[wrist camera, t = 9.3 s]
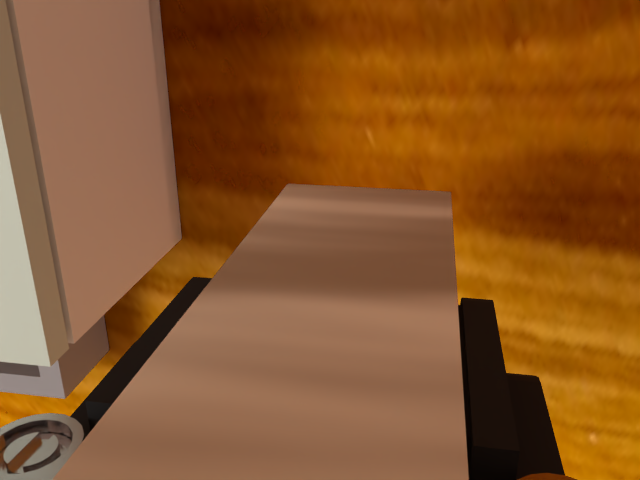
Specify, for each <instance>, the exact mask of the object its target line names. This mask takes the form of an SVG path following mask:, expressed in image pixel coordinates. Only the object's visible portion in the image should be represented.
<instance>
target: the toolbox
mask: <svg viewBox="0 0 640 480" xmlns="http://www.w3.org/2000/svg"><path fill="white" fill-rule="evenodd" d="M5 1H6V7H7V12H8V18H9V23H10V29H11V34H12V39H13V45H14V50H15V56H16V61H17V67H18V72H19V78H20V83H21V89H22V94H23V100H24V105H25V111H26V116H27V121H28V127H29V132H30V138H31V143H32V149H33V154H34V160H35V165H36V171H37V176H38V182H39V187H40V192H41V198H42V203H43V209H44V214H45V220H46V225H47V231H48V236H49V242H50V247H51V253H52V258H53V264H54V269H55V274H56V280H57V285H58V291H59V296H60V302H61V307H62V313H63V318H64V324H65V329H66V335H67V340H68V345H69V349H68V350H67V351H66V352H65V353H64V354H63V355H62V356H61V357H60V358H59V359H58V360H57V361H56V362H55V363H54V364H53V365H52V366H51V367H48V366H38V365H28V364H19V363H9V362H0V391H1V392H10V393H19V394H28V395H37V396H46V397H55V398H64V399H65V398H66V397H67V396H68V395H69V394H70V393H71V392H72V391H73V390H74V389H75V387H76V386H77V385H78V384H79V383H80V382H81V381H82V380H83V379H84V377H85V376H86V375H87V374H88V373H89V372H90V371H91V370H92V369H93V368H94V366H95V365H96V364H97V363H98V362H99V361H100V360H101V359H102V358H103V357H104V355H105V354H106V353H107V352H108V351H109V344H108V338H107V331H106V325H105V318H104V314H105V313H106V312H107V311H108V310H109V309H110V308H111V307H112V306H113V305H114V304H115V303H116V302H117V301H118V300H119V299H120V298H121V297H123V296H124V295H125V294H126V293H127V292H128V291H129V290H130V289H131V288H132V287H133V286H134V285H135V284H136V283H137V282H138V281H139V280H140V279H141V278H142V277H143V276H144V275H145V274H146V273H147V272H148V271H149V270H150V269H151V268H152V267H153V266H154V265H155V264H156V263H157V262H158V261H159V260H160V259H161V258H162V257H163V256H164V255H165V254H166V253H167V252H169V251H170V250H171V249H172V248H173V247H174V246H175V245H176V244H177V243H178V242H179V241H180V240H181V239H182V234H181V223H180V213H179V202H178V192H177V181H176V170H175V160H174V149H173V139H172V128H171V118H170V107H169V97H168V86H167V76H166V65H165V54H164V44H163V33H162V23H161V12H160V2H159V0H5Z"/></svg>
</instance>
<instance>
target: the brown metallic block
mask: <svg viewBox="0 0 640 480" xmlns="http://www.w3.org/2000/svg"><path fill="white" fill-rule="evenodd" d="M52 480H469V475H468V459H467V443H466V427H465V411H464V395H463V379H462V363H461V347H460V331H459V315H458V299H457V283H456V267H455V251H454V235H453V219H452V203H451V192H443V191H423V190H403V189H383V188H363V187H343V186H323V185H303V184H287V185H286V187H285V188H284V189H283V190H282V192H281V193H280V194H279V195H278V197H277V198H276V199H275V200H274V202H273V203H272V204H271V205H270V207H269V208H268V209H267V210H266V212H265V213H264V214H263V215H262V217H261V218H260V219H259V220H258V222H257V223H256V224H255V226H254V227H253V228H252V229H251V231H250V232H249V233H248V234H247V236H246V237H245V238H244V239H243V241H242V242H241V243H240V244H239V246H238V247H237V248H236V249H235V251H234V252H233V253H232V254H231V256H230V257H229V258H228V259H227V261H226V262H225V263H224V264H223V266H222V267H221V268H220V270H219V271H218V272H217V273H216V275H215V276H214V277H213V278H212V280H211V281H210V282H209V283H208V285H207V286H206V287H205V288H204V290H203V291H202V292H201V293H200V295H199V296H198V297H197V298H196V300H195V301H194V302H193V303H192V305H191V306H190V307H189V308H188V310H187V311H186V312H185V314H184V315H183V316H182V317H181V319H180V320H179V321H178V322H177V324H176V325H175V326H174V327H173V329H172V330H171V331H170V332H169V334H168V335H167V336H166V337H165V339H164V340H163V341H162V342H161V344H160V345H159V346H158V347H157V349H156V350H155V351H154V352H153V354H152V355H151V356H150V357H149V359H148V360H147V361H146V363H145V364H144V365H143V366H142V368H141V369H140V370H139V371H138V373H137V374H136V375H135V376H134V378H133V379H132V380H131V381H130V383H129V384H128V385H127V386H126V388H125V389H124V390H123V391H122V393H121V394H120V395H119V396H118V398H117V399H116V400H115V401H114V403H113V404H112V405H111V407H110V408H109V409H108V410H107V412H106V413H105V414H104V415H103V417H102V418H101V419H100V420H99V422H98V423H97V424H96V425H95V427H94V428H93V429H92V430H91V432H90V433H89V434H88V435H87V437H86V438H85V439H84V440H83V442H82V443H81V444H80V445H79V447H78V448H77V449H76V450H75V452H74V453H73V454H72V456H71V457H70V458H69V459H68V461H67V462H66V463H65V464H64V466H63V467H62V468H61V469H60V471H59V472H58V473H57V474H56V476H55V477H54V478H53V479H52Z"/></svg>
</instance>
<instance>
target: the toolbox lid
mask: <svg viewBox="0 0 640 480" xmlns="http://www.w3.org/2000/svg"><path fill="white" fill-rule="evenodd" d="M68 349H69V345H68V340H67V335H66V329H65V324H64V318H63V313H62V307H61V302H60V296H59V291H58V285H57V280H56V274H55V269H54V264H53V258H52V253H51V247H50V242H49V236H48V231H47V225H46V220H45V214H44V209H43V203H42V198H41V192H40V187H39V182H38V176H37V171H36V165H35V160H34V154H33V149H32V143H31V138H30V132H29V127H28V121H27V116H26V111H25V105H24V100H23V94H22V89H21V83H20V78H19V72H18V67H17V61H16V56H15V50H14V45H13V39H12V34H11V29H10V23H9V18H8V12H7V7H6V1H5V0H0V362H9V363H19V364H28V365H38V366H48V367H51V366H52V365H53V364H54V363H55V362H56V361H57V360H58V359H59V358H60V357H61V356H62V355H63V354H64V353H65V352H66V351H67V350H68Z"/></svg>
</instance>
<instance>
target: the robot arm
mask: <svg viewBox="0 0 640 480" xmlns="http://www.w3.org/2000/svg"><path fill="white" fill-rule="evenodd" d="M211 280H212V278H201V277H193V278H192V279H191V280H190V281H189V282H188V283H187V284H186V285H185V286H184V288H183V289H182V290H181V291H180V292H179V293H178V295H177V296H176V297H175V298H174V299H173V300H172V301H171V303H170V304H169V305H168V306H167V307H166V308H165V309H164V311H163V312H162V313H161V314H160V315H159V316H158V318H157V319H156V320H155V321H154V322H153V323H152V324H151V326H150V327H149V328H148V329H147V330H146V331H145V332H144V334H143V335H142V336H141V337H140V338H139V339H138V341H136V342H135V343H134V344H133V345H132V346H131V348H130V349H129V350H128V351H127V352H126V353H125V354H124V356H123V357H122V358H121V359H120V360H119V361H118V362H117V364H116V365H115V366H114V367H113V368H112V369H111V370H110V372H109V373H108V374H107V375H106V376H105V377H104V378H103V380H102V381H101V382H100V383H99V384H98V385H97V386H96V388H95V389H94V390H93V391H92V392H91V393H90V394H89V396H88V397H87V398H86V399H85V400H84V401H83V403H82V404H81V405H80V406H79V407H78V408H77V409H76V411H75V412H74V413H73V414H72V415H71V416H70V417H69V416H67V415H64V414H54V413H48V414H38V415H33V416H29V417H25V418H22V419H18V420H16V421H14V422H12V423H9V424H7V425H5V426H3V427H2V428H0V480H52V479H53V478H54V477H55V476H56V474H57V473H58V472H59V471H60V469H61V468H62V467H63V466H64V464H65V463H66V462H67V461H68V459H69V458H70V457H71V456H72V454H73V453H74V452H75V450H76V449H77V448H78V447H79V445H80V444H81V443H82V442H83V440H84V439H85V438H86V437H87V435H88V434H89V433H90V432H91V430H92V429H93V428H94V427H95V425H96V424H97V423H98V422H99V420H100V419H101V418H102V417H103V415H104V414H105V413H106V412H107V410H108V409H109V408H110V407H111V405H112V404H113V403H114V401H115V400H116V399H117V398H118V396H119V395H120V394H121V393H122V391H123V390H124V389H125V388H126V386H127V385H128V384H129V383H130V381H131V380H132V379H133V378H134V376H135V375H136V374H137V373H138V371H139V370H140V369H141V368H142V366H143V365H144V364H145V363H146V361H147V360H148V359H149V357H150V356H151V355H152V354H153V352H154V351H155V350H156V349H157V347H158V346H159V345H160V344H161V342H162V341H163V340H164V339H165V337H166V336H167V335H168V334H169V332H170V331H171V330H172V329H173V327H174V326H175V325H176V324H177V322H178V321H179V320H180V319H181V317H182V316H183V315H184V314H185V312H186V311H187V310H188V308H189V307H190V306H191V305H192V303H193V302H194V301H195V300H196V298H197V297H198V296H199V295H200V293H201V292H202V291H203V290H204V288H205V287H206V286H207V285H208V283H209V282H210V281H211ZM458 315H459V331H460V347H461V363H462V379H463V395H464V411H465V427H466V443H467V459H468V475H469V480H577V479H574V478H571V477H568V476H565V474H564V470H563V466H562V462H561V458H560V455H559V451H558V447H557V443H556V439H555V436H554V432H553V428H552V424H551V420H550V417H549V413H548V409H547V405H546V401H545V398H544V394H543V390H542V386H541V382H540V380H539V377H537V376H532V375H521V374H511V373H506V370H505V364H504V359H503V353H502V348H501V342H500V336H499V331H498V325H497V320H496V314H495V308H494V303H493V300H485V299H472V298H461V303H460V305H458Z"/></svg>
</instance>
